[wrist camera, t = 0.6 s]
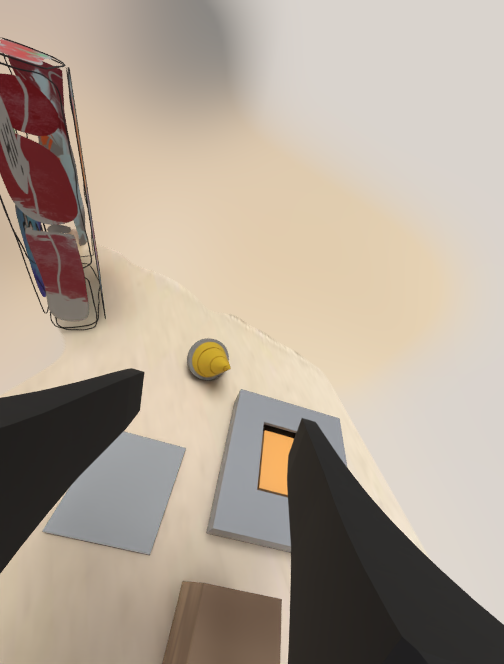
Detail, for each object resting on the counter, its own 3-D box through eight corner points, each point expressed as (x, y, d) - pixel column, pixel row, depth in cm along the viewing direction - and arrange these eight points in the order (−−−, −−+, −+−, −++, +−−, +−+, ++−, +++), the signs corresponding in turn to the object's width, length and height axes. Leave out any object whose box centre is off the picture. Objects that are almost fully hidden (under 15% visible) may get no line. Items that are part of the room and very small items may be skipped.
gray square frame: (342, 564, 21) (362, 563, 19) (206, 533, 20) (212, 528, 18) (327, 428, 31) (339, 418, 29) (234, 401, 30) (240, 389, 28)
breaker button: (310, 503, 23) (314, 501, 22) (256, 489, 22) (259, 487, 22) (307, 445, 27) (310, 443, 27) (262, 433, 26) (264, 430, 26)
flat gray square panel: (149, 554, 18) (149, 554, 18) (43, 532, 17) (42, 531, 17) (185, 449, 24) (185, 448, 24) (107, 429, 23) (107, 427, 23)
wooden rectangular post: (220, 682, 15) (277, 763, 9) (160, 673, 15) (171, 749, 8) (232, 591, 18) (281, 599, 12) (182, 581, 18) (203, 583, 11)
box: (113, 378, 27) (66, 92, 11) (45, 392, 24) (-159, 19, 8) (99, 262, 41) (68, 61, 25) (54, 261, 38) (-14, 29, 22)
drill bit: (224, 356, 35) (259, 368, 27) (198, 381, 33) (226, 403, 25) (202, 329, 33) (233, 332, 25) (173, 355, 31) (195, 368, 23)
